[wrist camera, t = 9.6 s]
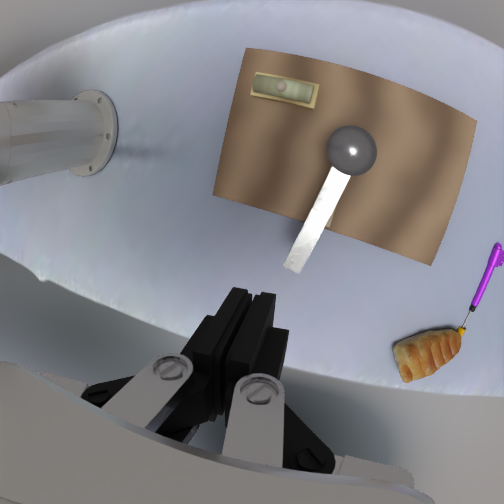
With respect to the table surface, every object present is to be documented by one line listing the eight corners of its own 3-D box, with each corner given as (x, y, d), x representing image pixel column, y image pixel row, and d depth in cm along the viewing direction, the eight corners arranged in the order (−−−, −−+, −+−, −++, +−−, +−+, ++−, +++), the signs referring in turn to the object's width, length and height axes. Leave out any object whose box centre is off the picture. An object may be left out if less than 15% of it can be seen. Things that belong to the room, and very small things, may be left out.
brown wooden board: (220, 191, 32) (201, 199, 27) (251, 53, 25) (236, 39, 21) (426, 258, 28) (438, 277, 23) (469, 121, 21) (489, 119, 17)
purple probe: (493, 241, 24) (442, 351, 31) (499, 244, 23) (446, 356, 30) (505, 244, 24) (455, 350, 31) (511, 248, 23) (459, 355, 30)
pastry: (453, 312, 28) (463, 330, 25) (461, 349, 30) (469, 367, 26) (388, 342, 32) (391, 362, 29) (401, 375, 33) (404, 395, 30)
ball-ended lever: (338, 121, 24) (338, 116, 20) (377, 141, 23) (385, 140, 19) (279, 245, 29) (269, 261, 25) (314, 263, 29) (310, 282, 25)
